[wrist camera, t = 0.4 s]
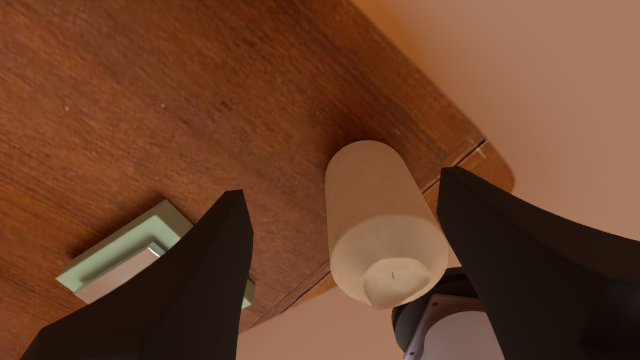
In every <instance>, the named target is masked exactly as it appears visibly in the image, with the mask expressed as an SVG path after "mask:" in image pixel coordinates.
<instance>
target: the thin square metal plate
mask: <svg viewBox="0 0 640 360" xmlns="http://www.w3.org/2000/svg"><path fill="white" fill-rule="evenodd" d="M164 253H165V251H164V250H163V249H162V248H160V247H159V246H158V245H157V244H156V243H155V242H154V241H152V242H150V243H149V244H147V245H145V246H144V247H142V248H141V249H139V250H137V251H136V252H134V253H132V254H131V255H129V256H128V257H126V258H124V259H123V260H121V261H119V262H118V263H116V264H115V265H113V266H111V267H110V268H108V269H106V270H105V271H103V272H102V273H100V274H98V275H97V276H95V277H93V278H92V279H90V280H89V281H87V282H85V283H84V284H82V285H80V286H79V287H78V288H77V289H76V290H75V292H74V293H73V294H74V295H76V296H77V297H79V298H80V299H81V300H83V301H84V302H86V303H87V304H90V303H92V302H94V301H95V300H97V299H99V298H100V297H102V296H104V295H106V294H107V293H109V292H110V291H112V290H114V289H115V288H117V287H118V286H120V285H122V284H123V283H125V282H126V281H128V280H129V279H130V278H132V277H133V276H135V275H136V274H137V273H139V272H140V271H142V270H143V269H145V268H146V267H147V266H149V265H150V264H151V263H153V262H154V261H155V260H157V259H158V258H159V257H160V256H161V255H163V254H164Z"/></svg>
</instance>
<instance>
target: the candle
mask: <svg viewBox="0 0 640 360" xmlns="http://www.w3.org/2000/svg"><path fill="white" fill-rule="evenodd" d="M325 195H326V210H327V226H328V241H329V257H330V269H331V274H332V277H333V279H334V281H335V283H336V284H337V285H338V287H339V288H340V289H341V290H343V292H345V293H346V294H347V295H349V296H351V297H352V298H354V299H357V300H359V301H361V302H364V303H366V304H368V305H370V306H371V307H373V308H374V309H377V310H378V309H379V310H382V309H388V308H392V307H396V306H398V305H401V304H405V303H408V302H410V301H413V300H415V299H417V298H419V297H421V296H422V295H424V294H425V293H426V292H428V291H429V290H430V289H431V288H432V287H433V286H434V285H435V284H436V283H437V282H438V281H439V280H440V278H441V277H442V276H443V274H444V272H445V270H446V268H447V265H448V261H449V247H448V243H447V241H446V238H445V236H444V234H443V232H442V231H441V229H440V227H439V225H438V223H437V221H436V220H435V218H434V216H433V214H432V212H431V210H430V208H429V207H428V205H427V203H426V201H425V199H424V197H423V196H422V194H421V192H420V190H419V188H418V186H417V185H416V183H415V181H414V179H413V177H412V175H411V173H410V172H409V170H408V168H407V166H406V164H405V163H404V161H403V159H402V158H401V156H400V155H399V154H398V153H397V152H396V151H395V150H394V149H393V148H391V147H390V146H388V145H387V144H384V143H382V142H378V141H373V140H363V141H357V142H354V143H351V144H349V145H347V146H345V147H343V148H342V149H340V150H339V151H338V152H337V153H336V154H335V155H334V156H333V157H332V159H331V161H330V162H329V164H328V167H327V170H326V174H325Z"/></svg>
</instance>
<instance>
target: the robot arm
mask: <svg viewBox="0 0 640 360" xmlns="http://www.w3.org/2000/svg"><path fill="white" fill-rule="evenodd" d="M436 213H437V216H438V219H439V222H440V224H441V227H442V229H443V232H444V234H445V236H446V239H447V240H448V242H449V244H450V246H451V248H452V249H453V251H454V253H455V255H456V256H457V258H458V260H459V262H460V263H461V265H462V267H463V269H464V271H465V272H466V274H467V276H468V278H469V279H470V281H471V283H472V285H473V286H474V288H475V290H476V292H477V294H478V296H479V298H472V297H464V296H455V295H447V294H438V293H435V294H433V295H432V296H431V297H430V299H429V301H428V304H427V306H426V308H425V310H424V312H423V315H422V317H421V319H420V321H419V323H418V325H417V328H416V330H415V332H414V334H413V336H412V338H411V341H410V343H409V345H408V347H407V349H406V352H405V354H404V356H403V359H404V360H640V241H636V240H632V239H628V238H624V237H621V236H617V235H614V234H610V233H606V232H604V231H601V230H597V229H594V228H591V227H588V226H585V225H582V224H579V223H576V222H573V221H571V220H568V219H565V218H563V217H560V216H558V215H555V214H553V213H550V212H548V211H545V210H543V209H540V208H539V207H536V206H534V205H532V204H530V203H528V202H526V201H523V200H521V199H519V198H517V197H515V196H514V195H512V194H510V193H508V192H506V191H504V190H502V189H500V188H498V187H496V186H495V185H493V184H491V183H489V182H487V181H486V180H484V179H482V178H480V177H478V176H477V175H475V174H473V173H471V172H469V171H467V170H465V169H463V168H461V167H459V166H456V167H446V168H441V177H440V186H439V195H438V203H437V212H436ZM253 234H254V233H253V229H252V225H251V221H250V217H249V213H248V209H247V205H246V201H245V197H244V194H243V190H242V189H241V190H232V191H225V192H224V193H223V194H222V196H221V197H220V198H219V199H218V200H217V201H216V202H215V203H214V205H213V206H212V207H211V208H210V209H209V210H208V211H207V212H206V213H205V214H204V216H203V217H202V218H201V219H200V220H199V221H198V222H197V223H196V224H195V225H194V226H193V227H192V228H191V229H190V230H189V231H188V232H187V233H186V234H185V235H184V236H183V237H182V238H181V239H180V240H179V241H178V242H177V243H176V244H174V245H173V246H172V247H171V248H170V249H169V250H168V251H166V252H165V253H164V254H163V255H161V256H160V257H159V258H158V259H157V260H155V261H154V262H153V263H151V264H150V265H149V266H147V267H146V268H145V269H143V270H142V271H140V272H139V273H137V274H136V275H135V276H133V277H132V278H130V279H129V280H128V281H126V282H125V283H123V284H122V285H120V286H118V287H117V288H115V289H114V290H112V291H110V292H109V293H107V294H106V295H104V296H102V297H100V298H99V299H97V300H95V301H94V302H92V303H90V304H88V305H86V306H85V307H83V308H81V309H79V310H77V311H75V312H73V313H71V314H69V315H67V316H65V317H64V318H62V319H60V320H58V321H56V322H54V323H52V324H50V325H48V326H46V327H44V328H42V329H41V330H40V331H39V333H38V334H37V336H36V337H35V338H34V340H33V341H32V343H31V344H30V345H29V347H28V348H27V350H26V351H25V353H24V354H23V355H22V357H21V358H20V360H236V349H237V338H238V329H239V320H240V314H241V309H242V304H243V299H244V294H245V289H246V284H247V280H248V275H249V270H250V265H251V260H252V250H253Z"/></svg>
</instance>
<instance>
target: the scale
mask: <svg viewBox="0 0 640 360" xmlns="http://www.w3.org/2000/svg"><path fill="white" fill-rule="evenodd" d="M193 226H194V225H193V224H192V223H191V222H189V221H188V220H187V219H186V218H185V217H184V216H183V215H182V214H181V213H180V212H179V211H178V210H177V209H176V208H175V207H174V206H173V205H172V204H171V203H170V202H169V201H168V200H167V199H165V200H164V201H162V202H161V203H159V204H158V205H156V206H154V207H153V208H151V209H150V210H148V211H147V212H145V213H144V214H142V215H141V216H139V217H137V218H136V219H134V220H133V221H131V222H130V223H128V224H127V225H125V226H124V227H122V228H120V229H119V230H117V231H116V232H114V233H113V234H111V235H110V236H108V237H107V238H105V239H104V240H102V241H100V242H99V243H97V244H96V245H94V246H93V247H91V248H90V249H88V250H87V251H85V252H83V253H82V254H80V255H79V256H77V257H76V258H74V259H73V260H71V261H70V263H69V264H68V265H67V266H66V267H65V268H64V269H63V270H62V271H61V273H60V274H59V275H58V276H57V277H56V280H58V281H59V282H60V283H62V284H63V285H65V286H66V287H67V288H69V289H70V290H72V291H73V292H75V290H76V289H77V288H78V287H79V286H80V285H82V284H84V283H85V282H87V281H89V280H90V279H92V278H93V277H95V276H97V275H98V274H100V273H102V272H103V271H105V270H106V269H108V268H110V267H111V266H113V265H115V264H116V263H118V262H119V261H121V260H123V259H124V258H126V257H128V256H129V255H131V254H132V253H134V252H136V251H137V250H139V249H141V248H142V247H144V246H145V245H147V244H149V243H150V242H152V241H154V242H155V243H156V244H157V245H158V246H159V247H160V248H162V249H163V250H164V251H165V252H166V251H168V250H169V249H170V248H171V247H172V246H173V245H174V244H176V243H177V242H178V241H179V240H180V239H181V238H182V237H183V236H184V235H185V234H186V233H187V232H188V231H189V230H190V229H191V228H192V227H193ZM254 289H255V285H254V284H253V283H252V282H251V281H250V280H249V279H248V280H247V284H246V289H245V294H244V299H243V304H242V309H244V308H246V307H248V306H250V305H251V304H252V299H253V294H254ZM242 309H241V310H242Z"/></svg>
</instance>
